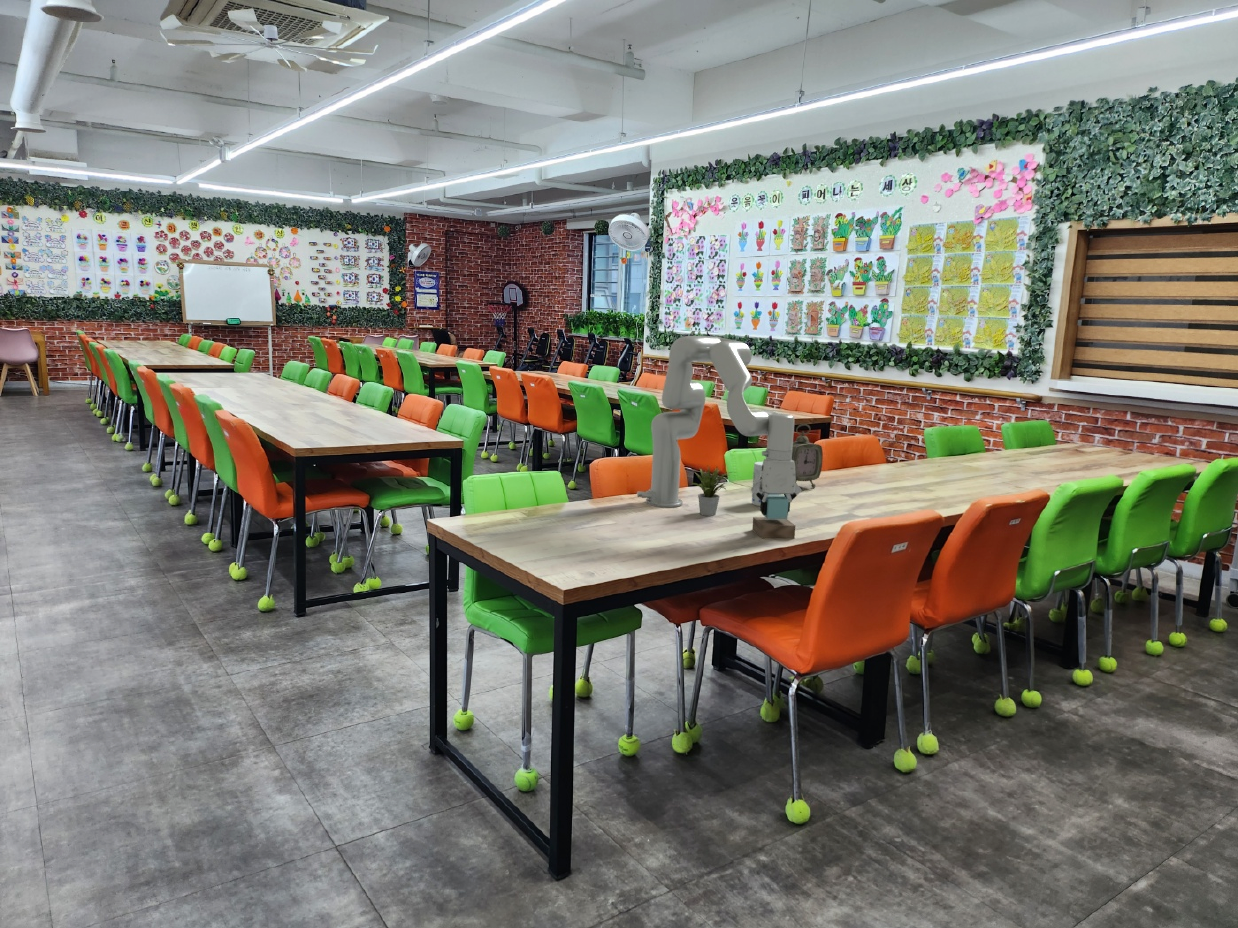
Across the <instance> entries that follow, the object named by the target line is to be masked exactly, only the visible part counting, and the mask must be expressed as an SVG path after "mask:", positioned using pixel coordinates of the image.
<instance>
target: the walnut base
mask: <svg viewBox="0 0 1238 928" xmlns="http://www.w3.org/2000/svg"><path fill="white" fill-rule="evenodd" d="M751 530H752V531H753V532H754V533H755V534H756V535H757V536H759V537H760V538H761V539H765V538H794V539H795V536H796V525H795V524H794V523H793V522H791V521H790V520H788V518H787V519H767V518H766V517H765V516H760V517H758V516H755V517H752V529H751Z"/></svg>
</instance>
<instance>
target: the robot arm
mask: <svg viewBox="0 0 1238 928" xmlns="http://www.w3.org/2000/svg"><path fill="white" fill-rule="evenodd" d="M669 349H670V350H669V355H668V367H667V371H666V376H665V381H664V385H663V389H662V390H663V391H662V395H661V402H662V405H663V406H664V407H665V408H666V409H668V410H673V411H664V412H661V413H658V414H657V415H655V416H654V417H653V418H652V420H651V424H650V428H651V429H650V430H651V437H652V463H651V464H652V465H651V481H650V483H651V485H650V488H649V489H648V490H646V491H637V492H636V496H637V498H642V499H645V503H646V504H647V505H649V506H653V507H661V508H676V507H680V506H683V502H684V501H683V499H681V498H679V492H680V490H679V489H680V476H681V475H680V473H681V459H682V458H681V457H682V456H681V449H680V445H679V443H678V440H687V439H691V438H693V437H695V436H696V434H697V433H698V431H699V429H700V425H701V421H702V417H703V413H704V408H705V403H706V391H705V388H704V385H702V384H701V383H700V382H698V381H695V380H692V379H693V375H694V368H693V364H692V363H711V364H712V365H713V367H714V369H715V371H716V373H717V374H718V376H719V378H720V380H721V381H722V383H723V385H724V388H725V390H726V391H727V395H726V410H727V414H728V416H729V419H730V420H731V422H732V424H733V425H734V427H735V429H736V430H737V431H738V432H739V433H740V434H741V435H742V436H745V437H757V436H767V441H766V448H765V450H762V451H761V456H763V457H764V459H763V461H762V462H763V464H762V468H761V473H760V480H759V481H758V482H757V483H756V484H755V485H754V486H753V485H752V487H751V488H750V491H753V492H754V493H755V494H756V496H757V497H758V498H759V499H760V500H761V505H760V506H759V507H760V508H759V511H760V512H761V515H762V514H763V515H762V516H764V515H766V514H767V502H766V500H767V497H768V495H769V494H780V495H783V496H784V497H786V498H787V499H789V503H788V513H790V511H791V510H790V509H791V503H792V502H793V500H794V499H795V498H796V497H797V496H798V495H799V494H800V493H802V488H801V487H800V486H799V485H798V483H797V482H796V478H795V463H794V461H793V460H792V448H793V442H794V433H795V417H794V416H793V414H792V415H791V414H788V413H778V412H776V411H774V410H751V409H750V408H749V406H748V404H747V402H746V400H745V398H744V392H745V391H746V390H747V389H749V388H750V386H751V385H752V383H753V377H752V375H751V373H750V372H749V370H748V368H747V367H748V365H749V364H750V363H751V361H752V351H751V349H750V347H749V346H748V345H747V344H746V343H745V342H743V341H739V340H734V339H730V338H725V337H720V336H712V335H710V336H708V335H704V336H703V335H686V336H681V337H678V338H677V339H675V340H674V341H673V343H672V344H671V347H670V348H669ZM675 410H676V411H675ZM679 410H680V411H679ZM796 483H797V484H796ZM758 488H759V489H760V490H762V491H763V492H762V494H760V493H759V491H758Z"/></svg>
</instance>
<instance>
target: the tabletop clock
mask: <svg viewBox="0 0 1238 928" xmlns="http://www.w3.org/2000/svg"><path fill="white" fill-rule="evenodd" d="M804 426H805V427H807V428H808V431H807V432H805V431H801V432H798V429H799V428H800V427H804ZM795 431H796V432H795V433H797V434H798V436H797V437H796V438H795V441H793V448H792V460H793V461H794V463H795V478H796V484H797V485H798V483H797V482H810V484H811V486H810V487H811V488H812V489H815V487H816V484H815V483H814V482H813V481H816V480H818V478H820V475H821V473H822V467H823V458H824V457H823V456H824V453H823V447H822V445H820V444H817V443H813V442H810V440H809V438H808V436H807V435H808V434H810V432H811V426H810V425H809V424H806V423H802V424H799V425H798V426H797V427H796V429H795Z"/></svg>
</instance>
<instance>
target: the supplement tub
mask: <svg viewBox="0 0 1238 928" xmlns="http://www.w3.org/2000/svg"><path fill="white" fill-rule="evenodd" d="M753 464H754V465H753V473H752V475H753V476H752V487H753V486H754V485H755V484H756V483H757V482H758V481H759V480H760V473H761V468H762V464H763V461H755V462H754V463H753ZM751 491H752V490H751ZM758 491H759V493H760V494H762V492H763V491H762V490H760V489H759V488H758ZM751 494H752V495H751V502H752V504H753V505H754V506H757V507H760V505H761V500H760V499H759V498H758V497H757V496H756V494H755V493H754V492H753V491H752V493H751ZM769 495H781V494H769Z"/></svg>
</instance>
